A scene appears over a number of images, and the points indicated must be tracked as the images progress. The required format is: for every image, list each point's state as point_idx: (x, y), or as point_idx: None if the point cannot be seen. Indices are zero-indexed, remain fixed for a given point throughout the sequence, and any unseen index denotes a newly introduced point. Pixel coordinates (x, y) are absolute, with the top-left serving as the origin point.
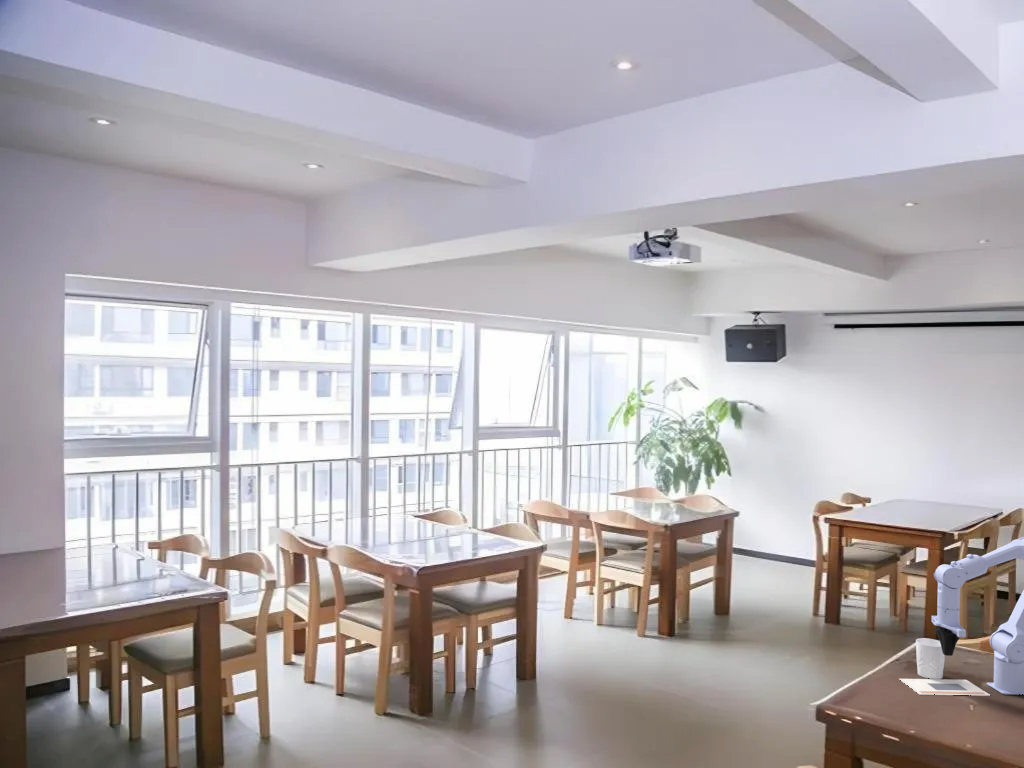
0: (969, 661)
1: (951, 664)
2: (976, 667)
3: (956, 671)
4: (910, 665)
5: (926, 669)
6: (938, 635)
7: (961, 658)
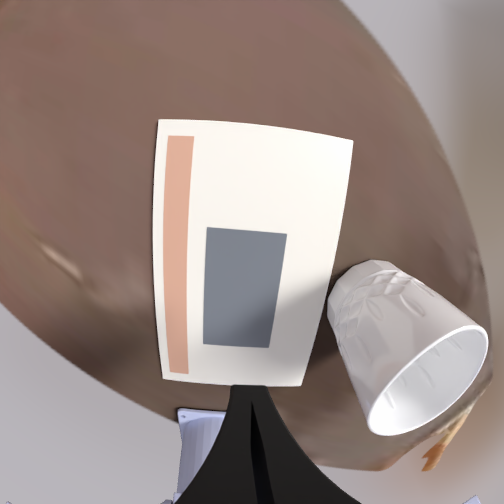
0: None
1: None
2: None
3: None
4: (448, 284)
5: (359, 285)
6: (314, 491)
7: None
